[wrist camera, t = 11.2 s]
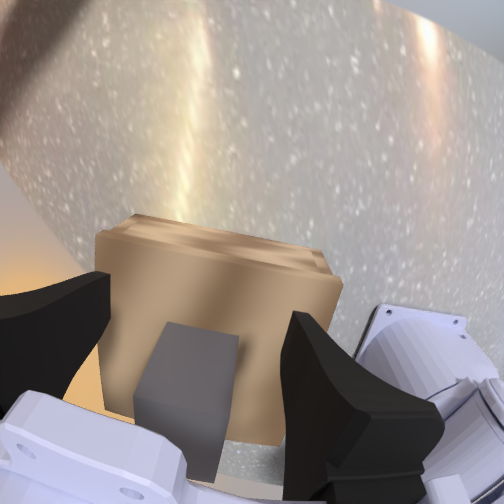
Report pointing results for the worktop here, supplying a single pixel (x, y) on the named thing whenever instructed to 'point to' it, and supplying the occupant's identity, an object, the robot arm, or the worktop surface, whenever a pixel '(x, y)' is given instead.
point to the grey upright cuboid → (189, 394)
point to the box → (224, 243)
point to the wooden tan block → (205, 320)
